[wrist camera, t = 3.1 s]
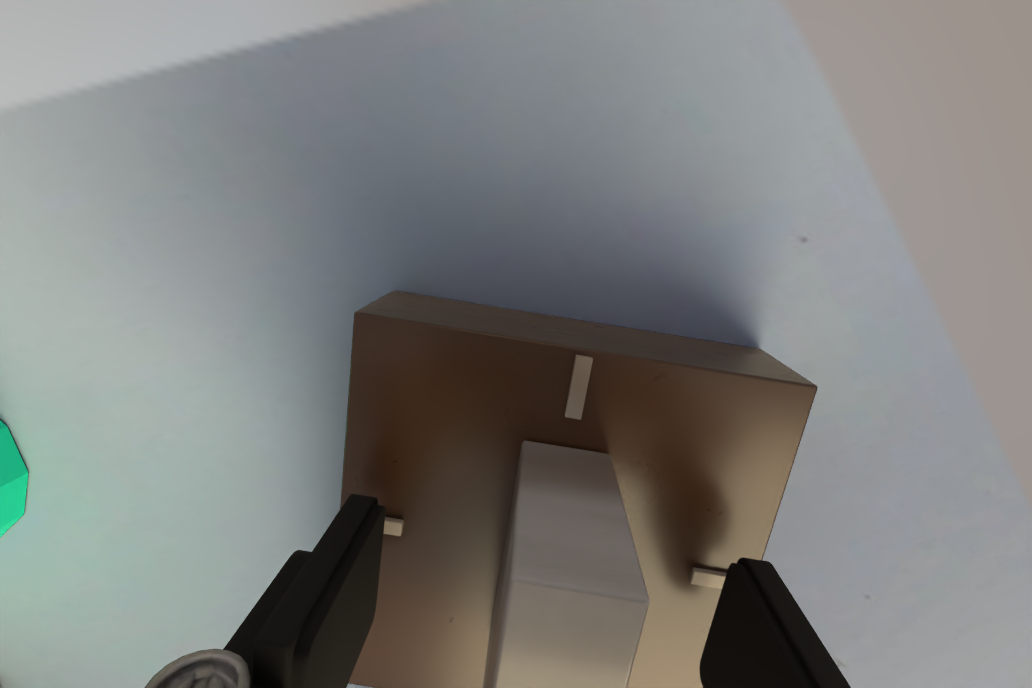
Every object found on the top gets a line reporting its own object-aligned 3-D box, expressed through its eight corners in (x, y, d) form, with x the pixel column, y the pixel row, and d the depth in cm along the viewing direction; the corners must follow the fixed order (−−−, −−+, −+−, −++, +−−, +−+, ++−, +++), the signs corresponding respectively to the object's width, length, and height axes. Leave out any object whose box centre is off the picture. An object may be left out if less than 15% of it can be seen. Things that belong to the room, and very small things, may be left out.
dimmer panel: (392, 289, 14) (350, 313, 11) (761, 348, 14) (823, 388, 11) (364, 598, 17) (324, 686, 14) (675, 649, 17) (705, 749, 14)
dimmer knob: (522, 438, 12) (509, 589, 7) (611, 452, 12) (655, 613, 7) (488, 638, 13) (459, 870, 8) (568, 650, 13) (581, 891, 8)
